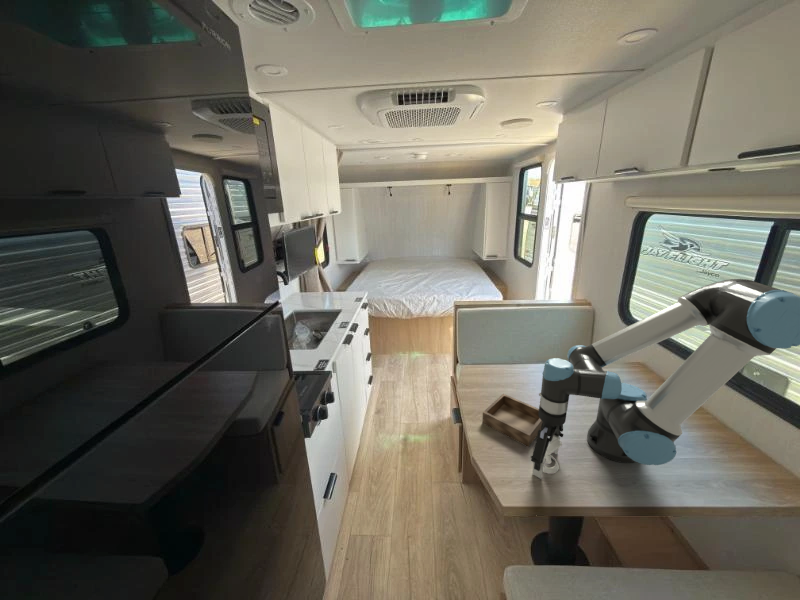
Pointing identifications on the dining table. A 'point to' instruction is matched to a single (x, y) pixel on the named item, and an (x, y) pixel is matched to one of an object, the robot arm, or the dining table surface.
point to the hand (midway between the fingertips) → (545, 463)
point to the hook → (551, 457)
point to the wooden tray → (513, 419)
